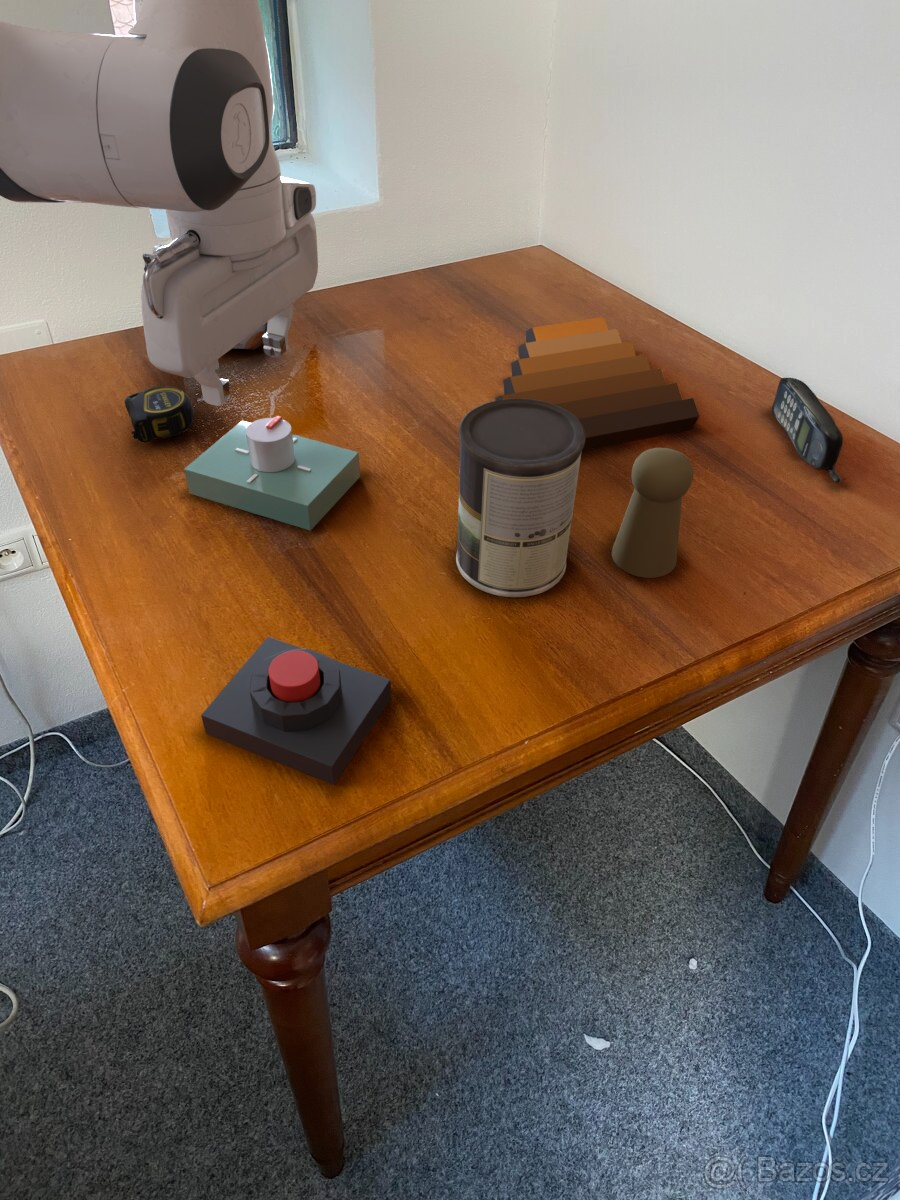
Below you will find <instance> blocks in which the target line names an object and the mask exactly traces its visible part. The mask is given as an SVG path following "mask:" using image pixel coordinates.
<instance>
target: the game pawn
mask: <svg viewBox="0 0 900 1200" xmlns="http://www.w3.org/2000/svg"><path fill="white" fill-rule="evenodd" d="M630 477H631V482H632V485H633V488H634V489H633V492H632V494H631V497H630V500H629V502H628V505H627V508H626V511H625V513H624V516H623V518H622V522H621V524H620V527H619V529H618V532H617V534H616V537H615V541H614V542H613V546H612V548H611V549H612V550H611V553H610V554H611V558H612V560H613V562H614V563H615V565H616V566H617V567H618V568H619V569H621V570H622V571H624V572H625V573H628V574H630V575H632V576H634V577H640V578H643V579H647V578H649V579H651V578H653V579H655V578H660V577H663V576H667V575H668V574H670V573H672V572H673V570H674V569H675V567H676V566H677V560H678V549H679V537H680V527H681V526H680V525H681V513H682V503H683V502H682V501H683V497H684V496H685V495H686V494H687V493H688V491H690V488H691V486H692V483H693V480H694V468H693V465H692V463H691V460H690V459H689V458H688V457H687V455H685V454H684V453H682V452H680V451H678V450H675V449H672V448H668V447H654V448H648V449H647V450H644V451H643V452H641V453H640V454H639V455H638V456H637V457H636V458H635V460H634V462H633V465H632V469H631V475H630Z"/></svg>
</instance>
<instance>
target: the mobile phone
mask: <svg viewBox="0 0 900 1200" xmlns="http://www.w3.org/2000/svg"><path fill="white" fill-rule="evenodd" d="M773 399H774V400H773V402H772V406H771V413H772V415H773V416H774V418H775V419H776V420H777V422H778V423H779V425H780V426H781V428H782V429H783V430H784V432H785V433H786V435H787V436H788V437H789V439H790V441H791V443H792V445H793V447H794V448H795V450H796V453H797V454H798V456H799V457H800V458H801V459H802V460H803V461H804V462H805V463H807V465H809V466H811V467H812V468H813V469H814V470H817V471H824V472H826V473H827V475H829V477H830V478H831V479H832V480H833V482H834V483H835V484H839V483H841V482H842V478H841V476H840V475H839V474H838V473H837V472H836V464H837V462H838V459H839V457H840V455H841V452H842V448H843V442H844V437H843V433H842V432H841V431H840V429H839V427H838V426H837V424H836V421H835V419H834V418H833V416H832V415H831V414H830V412H829V411H828V410H827V409H826V407H825V406H824V405H823V404H822V402H821V401H820V400H819V398H818V397H817V395H816V394H815V393H814V391H813V390H812V389H811V388H810V387H809V386H808V385H807V384H806V383H805V382H804V381H802V380H800V379H798V378H795V377H782V378H780V380H779V382H778V385H777V389H776V392H775V396H774V398H773Z"/></svg>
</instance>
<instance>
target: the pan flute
mask: <svg viewBox="0 0 900 1200" xmlns="http://www.w3.org/2000/svg"><path fill="white" fill-rule="evenodd" d="M525 341H526V342H524V343H522V344H520V345H519V346H518V359H516V360H514V361H512V362H511V364H510V365H511V376H509V377H507V378H504V379H503V394H502V395H499V396H497V397H494V401H496V400H502V399H513V398H515V399H521V398H522V399H533V400H539V401H544V402H547V403H551V404H554V405H556V406H559V407H561V408H563V409H565V410H567V411H568V412H570V413H571V414H573V415H574V416H575V417H576V418H577V419H578V420H579V421H580V423H581V424H582V426H583V428H584V430H585V444H584V447H583V450H582V452H583V451H588V450H595V449H599V448H604V447H610V446H615V445H621V444H625V443H630V442H635V441H640V440H645V439H650V438H656V437H660V436H666V435H671V434H675V433H682V432H686V431H691V430H693V429H694V427H695V426H696V424H697V421H698V420H699V418H700V414H699V411H698V407H697V404H696V401H695V399H694V397H690V398H685V399H683V397H682V394H681V390H680V388H679V386H678V383H677V382H673V383H667V382H666V380H665V377H664V374H663V370H662V368H660V367H659V368H654V369H651V366H650V363H649V360H648V358H647V355H646V354H645V353H644V354H640V355H636V351H635V350H634V345H633V343H632V341H631V340H630V341H623V342H622V338H621V335H620V333H619V330H618V328H613V329H609V328H608V325H607V321H606V318H605V316H599V317H593V318H586V319H580V320H573V321H566V322H560V323H552V324H546V325H540V326H539V325H538V326H533V327H530V328H528V329H527V330H525Z"/></svg>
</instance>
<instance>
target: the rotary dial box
mask: <svg viewBox="0 0 900 1200" xmlns="http://www.w3.org/2000/svg"><path fill="white" fill-rule="evenodd" d="M251 423H252V422H249V421H245V420H241V421H240V422H238V423H237V424H236V425H235V426H233V428H231V429H230V430H229V431H228V432H226V433H225V434H224V435H223V436H222V437H220V438H219V439H218V440H216V442H214V444H212V445H211V446H210V447H208V448H207V449H206V450H204V452H203V453H201V454H200V455H199V456H197V457H196V458H194V460H193V461H192V462H190V463H189V464H188V465H187V466H186V467H185V468H183V469H184V470H183V471H184V475H185V479H186V483H187V487H188V492H189V494H190V495H193V496H196V497H200V498H202V499H205V500H209V501H212V502H215V503H219V504H222V505H225V506H229V507H232V508H234V509H237V510H242V511H245V512H249V513H251V514H255V515H258V516H261V517H264V518H268V519H270V520H274V521H276V522H277V521H278V522H280V523H284V524H287V525H291V526H294V527H296V528H300V529H304V530H307V531H310V532H311V531H312V530H313V529H314V528H315V527H316V526H317V525H318V523H319V522H321V520H322V519H323V518H324V517H325V516H326V515H327V514H328V513H329V511H330V510H331V509H333V507H334V506H335V505H336V504H337V502H339V501H340V499H342V497H343V496H344V495H345V494H346V493H347V492H348V491H349V490H350V489H351V488H352V486H353V485H354V484H355V483H356V482H357V481H358V480H359V479H360V478H361V466H360V465H361V463H360V451H355V450H351V449H348V448H344V447H340V446H337V445H333V444H331V443H330V444H329V443H326V442H322V441H319V440H316V439H315V440H314V439H311V438H308V437H304V436H300V435H296V434H293V433H292V437H293V445H294V454H295V461H294V463H293V464H292V465H291V466H290V467H289V468H287V469H285V470H282V471H278V472H262V471H259V470H256V469H255V468H254V467H253V466H252V465H251V463H250V457H249V451H248V445H247V439H246V432H245V431H246V428H247V426H248V425H249V424H251Z"/></svg>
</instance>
